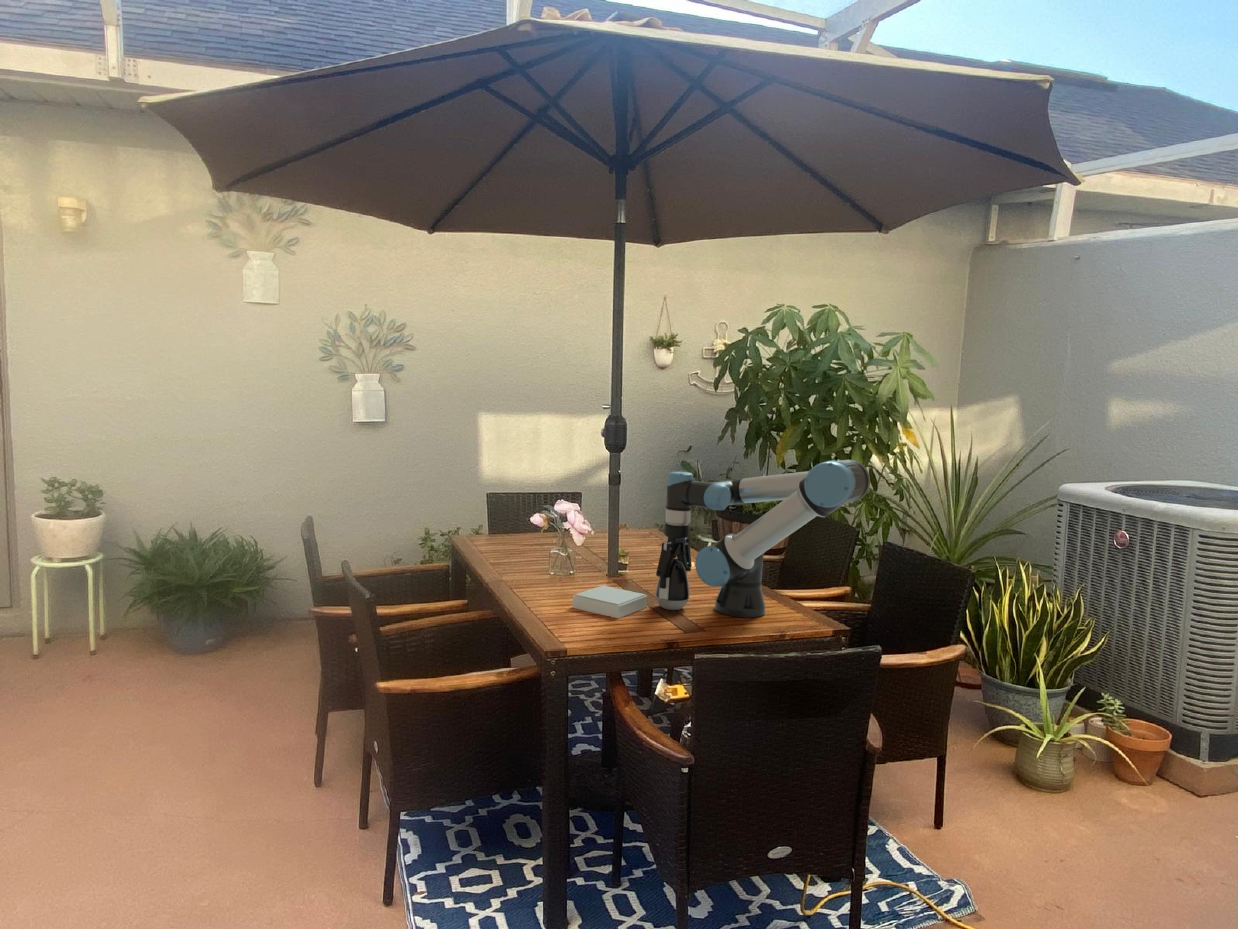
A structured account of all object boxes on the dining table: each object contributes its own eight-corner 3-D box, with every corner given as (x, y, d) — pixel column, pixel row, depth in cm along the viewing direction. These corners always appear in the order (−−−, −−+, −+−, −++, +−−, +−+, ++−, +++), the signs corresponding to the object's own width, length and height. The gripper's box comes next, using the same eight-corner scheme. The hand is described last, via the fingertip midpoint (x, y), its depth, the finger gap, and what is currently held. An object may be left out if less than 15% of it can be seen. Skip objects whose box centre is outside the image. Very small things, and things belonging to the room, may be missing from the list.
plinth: (646, 607, 251) (647, 594, 250) (618, 618, 237) (618, 604, 237) (602, 597, 259) (602, 584, 259) (572, 607, 246) (573, 594, 245)
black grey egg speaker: (661, 613, 246) (664, 562, 244) (650, 603, 255) (653, 555, 254) (693, 612, 248) (697, 562, 247) (681, 603, 258) (685, 555, 257)
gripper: (684, 517, 261) (679, 586, 263) (647, 526, 241) (642, 600, 244) (705, 520, 257) (701, 590, 259) (669, 529, 237) (664, 605, 240)
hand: (672, 595), depth 251 cm, fingers open, 11 cm apart
